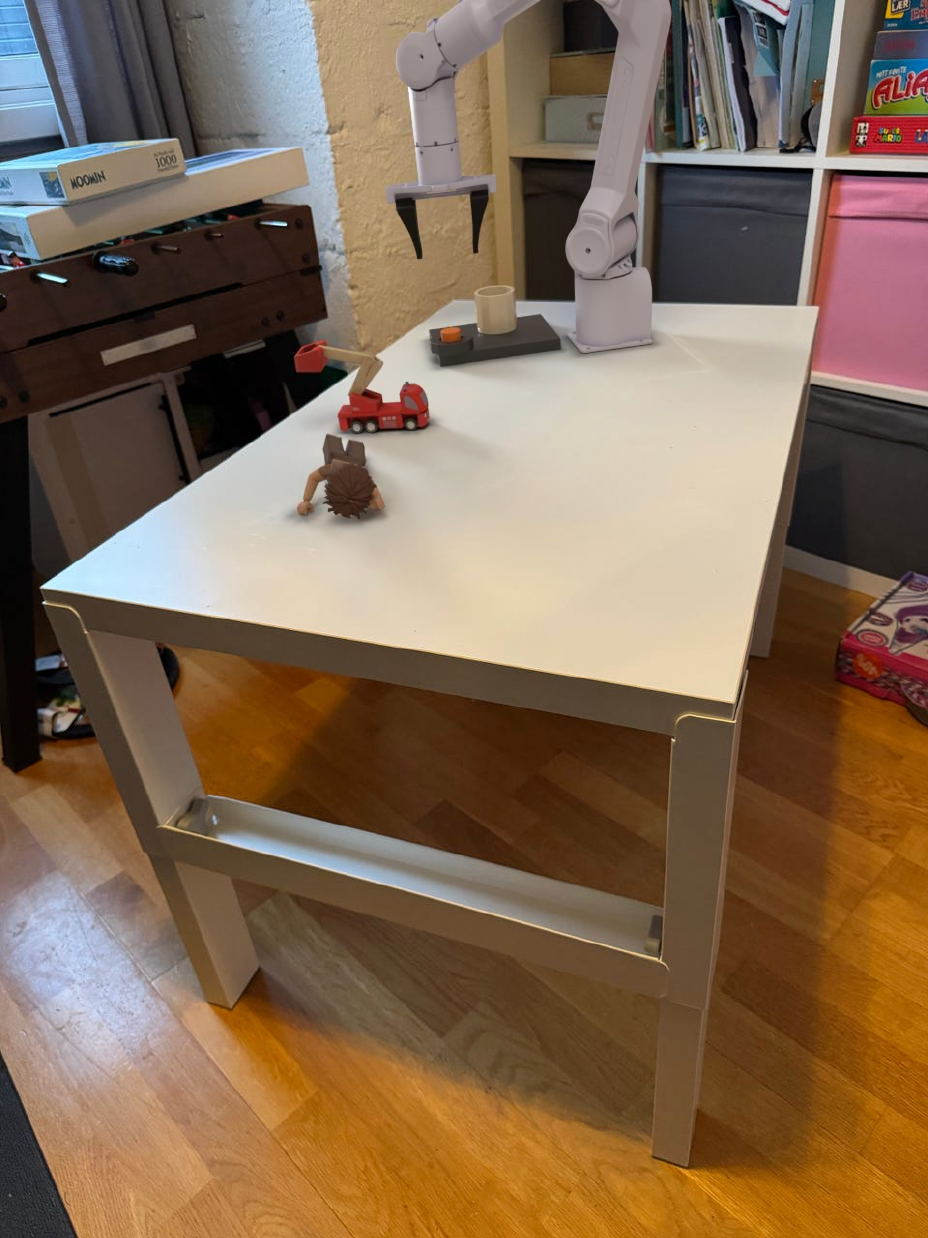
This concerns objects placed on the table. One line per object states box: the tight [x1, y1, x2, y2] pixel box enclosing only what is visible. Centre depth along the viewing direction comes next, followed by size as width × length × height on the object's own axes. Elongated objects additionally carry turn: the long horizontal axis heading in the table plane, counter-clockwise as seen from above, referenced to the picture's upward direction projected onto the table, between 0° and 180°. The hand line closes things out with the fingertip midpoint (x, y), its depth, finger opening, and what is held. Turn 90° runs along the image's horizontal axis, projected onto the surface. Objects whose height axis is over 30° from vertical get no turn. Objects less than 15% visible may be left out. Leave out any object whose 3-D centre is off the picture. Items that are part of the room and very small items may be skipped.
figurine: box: [296, 432, 386, 520], centre depth 85 cm, size 8×5×15 cm
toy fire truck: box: [293, 340, 431, 434], centre depth 97 cm, size 3×14×10 cm, turn 84°
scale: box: [428, 313, 562, 368], centre depth 118 cm, size 17×13×3 cm
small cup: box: [473, 284, 518, 335], centre depth 119 cm, size 5×6×5 cm
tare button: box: [441, 326, 461, 342], centre depth 114 cm, size 3×3×1 cm
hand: (447, 254), depth 121 cm, fingers open, 7 cm apart
